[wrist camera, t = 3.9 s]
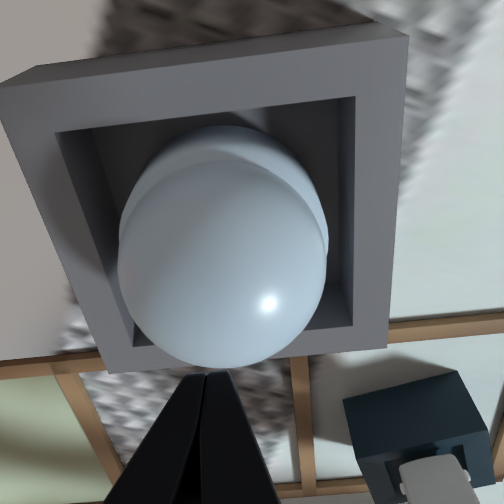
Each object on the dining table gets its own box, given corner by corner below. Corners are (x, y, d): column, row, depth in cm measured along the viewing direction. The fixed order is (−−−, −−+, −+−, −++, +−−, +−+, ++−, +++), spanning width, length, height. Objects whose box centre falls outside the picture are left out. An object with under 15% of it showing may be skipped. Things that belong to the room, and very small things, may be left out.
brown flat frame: (498, 474, 25) (502, 481, 25) (-41, 517, 27) (-45, 523, 27) (555, 307, 19) (561, 313, 18) (-173, 377, 20) (-180, 384, 20)
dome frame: (366, 294, 18) (386, 347, 16) (126, 318, 19) (108, 373, 16) (376, 21, 13) (409, 35, 10) (36, 65, 13) (-13, 89, 11)
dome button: (320, 278, 16) (352, 409, 11) (158, 295, 16) (123, 429, 12) (314, 112, 13) (355, 198, 8) (111, 137, 13) (37, 233, 8)
